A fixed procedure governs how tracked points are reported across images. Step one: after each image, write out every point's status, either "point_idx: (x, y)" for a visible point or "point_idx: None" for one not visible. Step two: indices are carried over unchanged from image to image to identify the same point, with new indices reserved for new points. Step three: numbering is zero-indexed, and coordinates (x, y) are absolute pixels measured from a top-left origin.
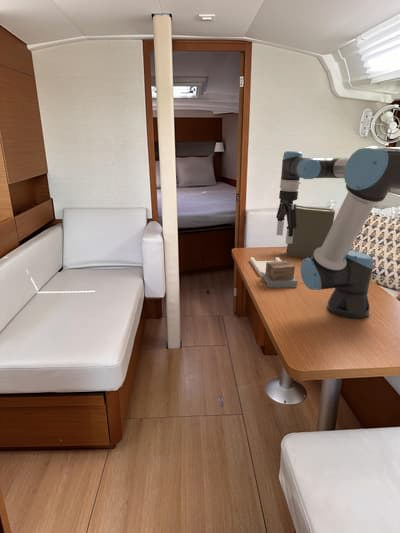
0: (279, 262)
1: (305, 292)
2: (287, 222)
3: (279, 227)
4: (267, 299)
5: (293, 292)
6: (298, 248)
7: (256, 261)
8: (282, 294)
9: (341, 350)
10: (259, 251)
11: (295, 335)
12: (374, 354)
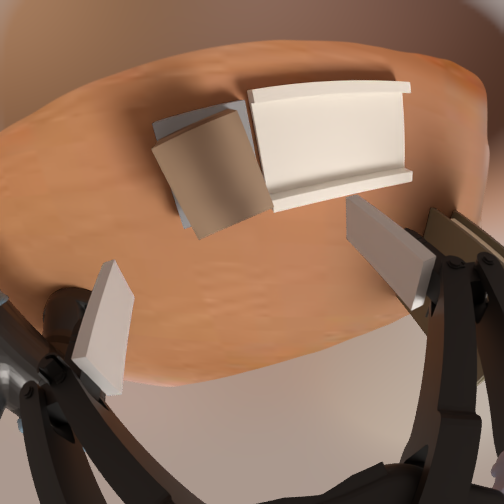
0: (243, 174)
1: (147, 242)
2: (92, 411)
3: (382, 243)
4: (58, 132)
5: (135, 207)
6: (441, 249)
7: (399, 102)
8: (107, 173)
9: None
10: (470, 139)
11: None
12: None
